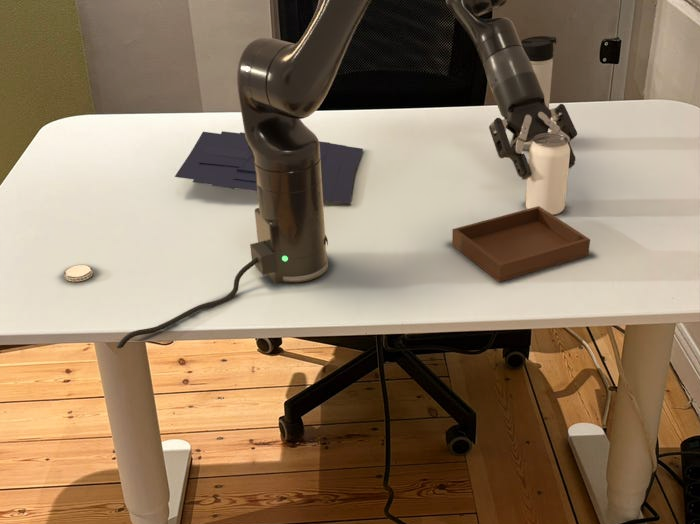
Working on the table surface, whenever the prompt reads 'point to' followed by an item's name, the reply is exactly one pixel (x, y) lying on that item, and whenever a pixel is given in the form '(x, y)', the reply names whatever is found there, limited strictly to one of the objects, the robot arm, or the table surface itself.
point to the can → (548, 172)
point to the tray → (520, 243)
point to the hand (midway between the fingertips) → (549, 172)
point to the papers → (239, 171)
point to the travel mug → (540, 65)
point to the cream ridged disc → (78, 273)
